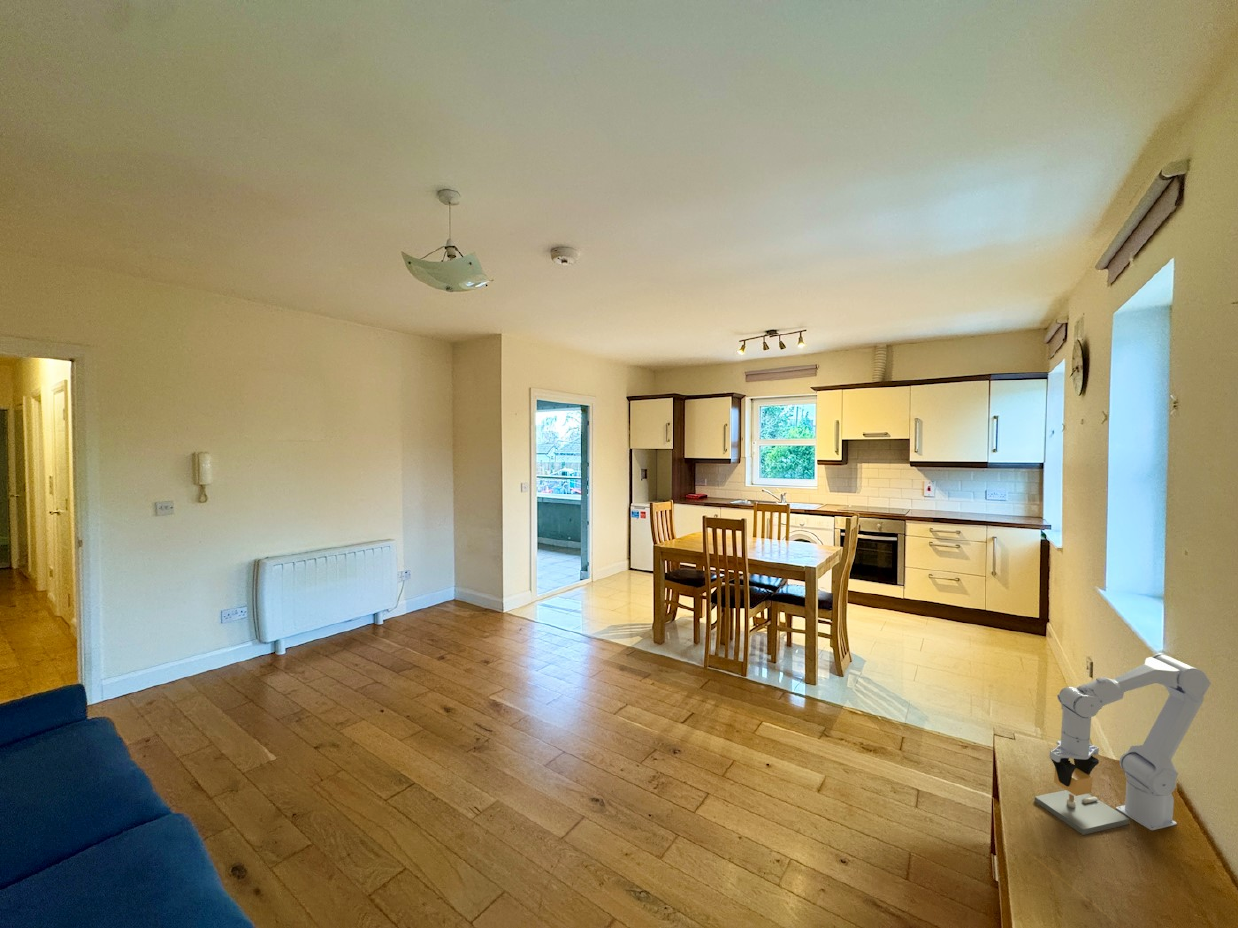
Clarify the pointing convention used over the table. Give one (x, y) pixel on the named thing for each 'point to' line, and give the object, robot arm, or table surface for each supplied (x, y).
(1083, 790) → the light wooden brick
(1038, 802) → the flat gray rectangular board
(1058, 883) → the table surface
